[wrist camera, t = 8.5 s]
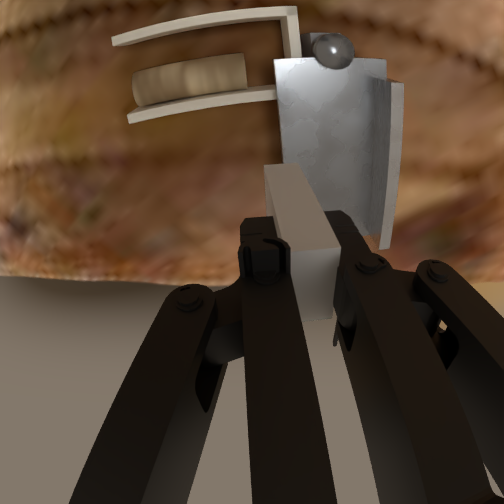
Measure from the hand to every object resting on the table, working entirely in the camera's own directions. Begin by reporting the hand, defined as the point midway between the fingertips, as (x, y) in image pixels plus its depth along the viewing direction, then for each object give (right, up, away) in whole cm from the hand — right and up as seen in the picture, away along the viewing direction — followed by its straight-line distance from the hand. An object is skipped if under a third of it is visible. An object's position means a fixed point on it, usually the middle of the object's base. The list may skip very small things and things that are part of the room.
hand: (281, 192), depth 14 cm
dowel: (-7, +13, +9) cm, 17 cm away
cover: (+5, +6, +10) cm, 13 cm away
